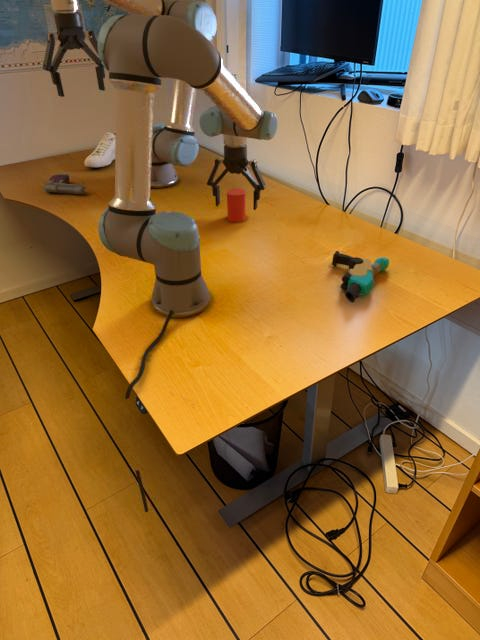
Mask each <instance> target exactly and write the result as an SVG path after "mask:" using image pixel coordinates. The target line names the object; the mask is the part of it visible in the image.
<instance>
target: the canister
mask: <svg viewBox="0 0 480 640" xmlns="http://www.w3.org/2000/svg"><path fill="white" fill-rule="evenodd" d="M246 193H247V192H246V190H245V189H243V188H230V189H228V190H227V191H226V205H227V206H226V207H227V208H226V209H227V220H228V221H229V222H231V223H242V222H244V221H246V219H247V215H246V214H247V209H246V207H247V206H246V205H247V201H246V200H247V199H246V198H247V197H246Z"/></svg>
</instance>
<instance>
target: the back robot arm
mask: <svg viewBox="0 0 480 640" xmlns="http://www.w3.org/2000/svg"><path fill="white" fill-rule="evenodd" d="M101 1H102V2H105V3H107V4H109V5H111V6H113V7H115V8H117V9H120V10H122V11H124V12H126V13H127V14H142V15H158V16H160V15H167V16H173V17H176V18H178V19H180V20H182V21H184V22H186V23H188V24H189V25H191V26H192V27H194V28H195V29H196V30H198V31H199V32H200V33H201V34H202V35H204V36H205V37H206V38H207V39H208V40H209V41H210V42H211V41H213V38H215V36H216V34H217V29H218V22H217V21H218V20H217V16H216V14H215V13H214V10H213V8H212V6H210V4H208V3H206V2H205V1H199V0H101ZM50 5H51V9H52V10H51V11H53V12H54V13H53V19H54V25H55V27H56V33H51V32H47V33H46V41H47V43H46V48H45V53H44V57H43V64H42V70H44V71H45V72H49V73H50V77H51V82H52V85H55V86H56V91H57V96H59V97H61V98H64V97H65V92H64V88H63V83H62V79H61V78H62V77H61V73H60V72H59V71H58V69H59V68H60V65H61V63H62V61H63V58H64V57H65V55H66V53H67V52H68V50H69V51H73V50H82V51H83V52H85V54H86V55H87V56H88V57H89V58H90V59H91V60H92V61H93V62H94V63H95V65H96V66H95V67H94V68H95V74H96V75H95V76H96V79H97V86H98V90H99V91H106V87H105V82H104V79H106V72H105V68H104V66H103V65H102V60H100V58H99V55H98V39H97V38H96V34H95V31H94V30H93V29H87V30H86V31H85V30H84V24H83V18H82V14H81V12H79V11H80V9H81V8H80V2H79V0H50ZM86 39H88V41H89V43H90V44H91V46H92V47H93V49H94V51H95V52H94V51H93V50H92V48H91V47H90V46H89V44H87V42H86V41H85V40H86ZM57 40H58V41H59V45H58V48H57V50H56V53H55V56H54V51H55V47H56V42H57ZM172 84H173V85H172V94H171V99H170V100H171V101H170V109H169V115H168V121H167V122H153V137H152V164H151V189H165V188H170V187H173V186H175V185H177V184H178V183H179V176H178V173H177V171H176V169H175V166H177V167H181V168H182V167H183V168H185V167H188V166H190V165H191V164H192V163H194V161H195V160H196V159H197V157H198V154H199V147H200V146H199V143H198V140H197V138H195V134H196V133H195V132H196V130H195V129H194V127H193V120H194V119H193V118H194V111H195V105H196V98H197V90H198V89H194V88H192V87H191V86H190V85H189V84H188V83H186V82H184V81H182V80H178V79H173V83H172Z"/></svg>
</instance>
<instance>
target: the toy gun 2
mask: <svg viewBox="0 0 480 640" xmlns="http://www.w3.org/2000/svg"><path fill="white" fill-rule="evenodd" d="M331 265H332V266H334V267H335V266H337V265H342V266H347V267H348V271H347V272H345V273H344V274H343V276H342V277H341V282H342V283H341V284H340V289H341V290H342V291H344V292H345V293H344V296H345V298H346V299H347V300H348V302H350V303H354V302H355V301H356V300H357V299H358V298H359V297H360V295H361V296H366V295H367V294H369V293H370V292H371V291H372V289H373V288H374V286H375V279H374V276H376V275H377V274H378V273H379V272H384V271H385V270H386V269H388V268H389V265H390V259H389V258H388V257H386V256H385V257H384V256H380V257H378V258H376V259H375V260H374V263H373V262H372V260H370V259H368V258H362V257H358V256H357V257H353V256H351V255H348V254H345V253H342V252H341V253H340V251H339V250H336V251H335V252H334V254H333V255H332V262H331Z"/></svg>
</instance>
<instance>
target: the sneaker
mask: <svg viewBox="0 0 480 640" xmlns="http://www.w3.org/2000/svg"><path fill="white" fill-rule="evenodd" d="M115 137H116V132H114V133H113V132H109V131H108V132H105V133H104V134H103V136H102V137H101V140H100V141H99V142H98V143H97V146H96V147H95V149H94V150H93V151H92V152H91V153H90V154H89V155H88V156H87V157H85V160H84V163H83V164H84V166H85V167H86V168H93V169H94V168H95V169H96V168H103V167H107V166H109V165H111V163H112V162H113V161H115Z"/></svg>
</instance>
